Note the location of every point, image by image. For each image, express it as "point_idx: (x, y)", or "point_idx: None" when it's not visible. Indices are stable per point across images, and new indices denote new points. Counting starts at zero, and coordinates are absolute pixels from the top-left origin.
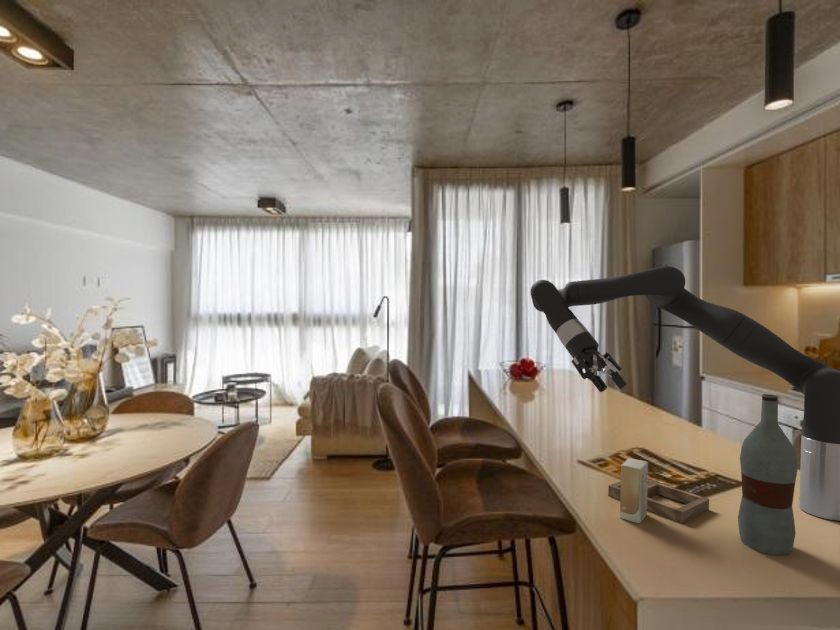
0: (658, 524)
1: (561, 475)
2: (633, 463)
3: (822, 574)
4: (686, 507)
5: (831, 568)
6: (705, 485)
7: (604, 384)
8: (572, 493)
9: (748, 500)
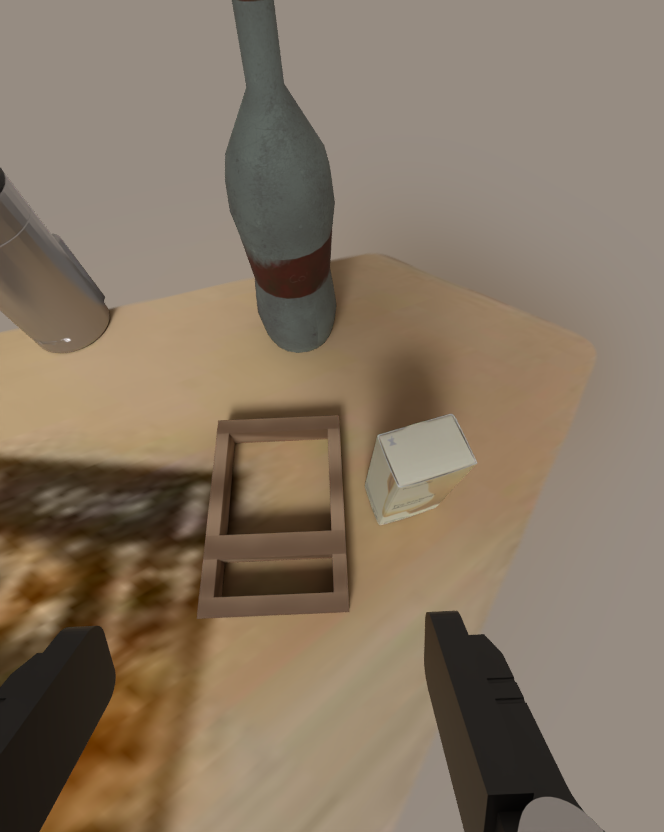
0: None
1: None
2: (432, 448)
3: None
4: (308, 422)
5: None
6: (65, 505)
7: (457, 635)
8: None
9: (325, 280)
